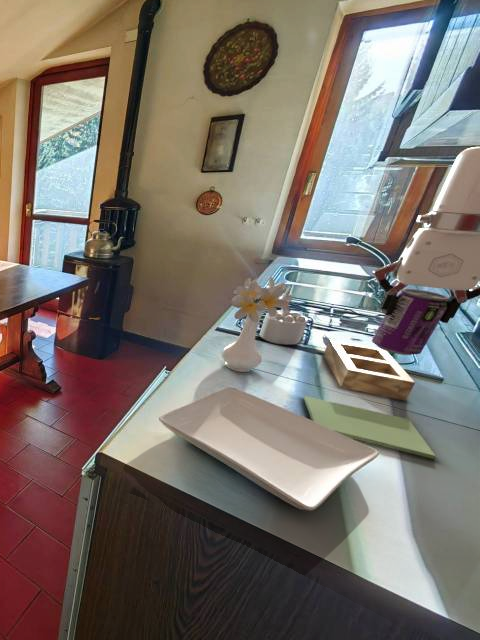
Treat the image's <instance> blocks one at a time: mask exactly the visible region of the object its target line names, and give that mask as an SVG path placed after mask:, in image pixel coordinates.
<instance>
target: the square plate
mask: <svg viewBox="0 0 480 640" xmlns="http://www.w3.org/2000/svg"><path fill="white" fill-rule="evenodd" d="M158 421H159V422H160V423H161V424H162V425H163V426H164V427H165V428H166V429H167V430H169V431H171V432H172V433H173V434H175V435H176V436H178V437H180V438H182V439H183V440H185V441H186V442H188V443H190V444H192V445H193V446H194V447H197V448H198V449H200V450H202V451H203V452H205V454H208V455H209V456H211V457H213V458H214V459H216V460H217V461H219V462H221V463H223V464H225V465H226V466H227V467H229V468H230V469H233V470H234V471H235V472H237V473H238V474H241V476H244V477H245V478H246V479H248V480H250V481H251V482H252V483H254V484H256V485H257V486H259V487H260V488H261V489H264V490H265V491H266V492H269V493H270V494H272V495H274V496H276V497H278V498H279V499H280V500H282V501H284V502H286V503H287V504H289V505H291V506H293V507H294V508H297V509H299V510H303V511H309V512H312V511H314V510H315V509H317V508H318V507H319V506H321V505H322V504H323V503H324V502H325V501H326V500H327V499H328V498H329V497H330V496H331V495H332V494H333V493H334V492H335V491H336V490H337V489H338V487H340V486H341V485H342V484H343V483H344V482H346V480H347V479H349V478H350V477H351V476H352V475H354V474H356V472H358V471H359V470H361V469H362V468H363V467H365V466H367V465H368V464H369V463H371V462H373V461H374V460H375V459H377V457H378V456H379V454H380V452H379V451H378V450H376V449H375V448H372V447H370V446H368V445H367V444H364V443H361V442H359V441H358V440H356V439H353V438H349V437H347V436H344V435H342V434H340V433H338V432H336V431H334V430H331V429H329V428H327V427H325V426H323V425H320V424H318V423H316V422H314V421H312V420H311V419H309V418H307V417H305V416H303V415H301V414H298V413H295V412H294V411H291V410H289V409H287V408H284V407H282V406H280V405H277V404H275V403H273V402H271V401H268V400H266V399H263V398H261V397H259V396H256V395H253V394H252V393H249V392H246V391H244V390H242V389H240V388H237V387H235V386H231V385H228V386H226V387H223V388H220V389H218V390H216V391H213V392H211V393H209V394H207V395H205V396H203V397H200V398H199V399H196V400H193V401H191V402H189V403H186V404H184V405H182V406H180V407H177V408H175V409H173V410H171V411H168V412H167V413H165V414H162V415H161V416H159V417H158Z"/></svg>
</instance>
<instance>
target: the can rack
mask: <svg viewBox="0 0 480 640" xmlns="http://www.w3.org/2000/svg"><path fill="white" fill-rule="evenodd" d="M323 358H324V360H325V361H326V363H327V364H328V366H329V368H330V371H331V372H332V373H333V375H334V378H335V380H336V381H337V383H338V385H339V387H340V388H343V389H349V390H353V391H358V392H363V393H368V394H373V395H378V396H382V397H386V398H391V399H392V398H393V399H397V400H402V401H407V399H408V398H409V395H410V394H411V392H412V389H413V388H414V386H415V384H416V382H415V381H414V379H413V378H412V377H411V376H410V375H409V374H408V373H407V372H406V371H405V369H404V368H403V367H402V366H401V365H400V364H399V363H398V362H397V361H396V359H395V358H393V356H392V355H391V353H390V352H388V351H385V350H383V349H381V348H379V347H375V346H369V345H364V344H357V343H351V342H346V341H340V340H333V339H329V340H328V342H327V344H326V347H325V349H324V352H323Z"/></svg>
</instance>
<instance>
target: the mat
mask: <svg viewBox="0 0 480 640" xmlns="http://www.w3.org/2000/svg"><path fill="white" fill-rule="evenodd" d="M303 400H304V402H305V406H306V409H307V412H308V415H309V418H310V420H312V421H314V422H316V423H318V424H320V425H323V426H325V427H327V428H329V429H331V430H334V431H336V432H338V433H340V434H342V435H344V436H347V437H349V438H351V439H353V440H356V441H361V442H366V443H369V444H372V445H377V446H381V447H385V448H387V449H393V450H396V451H401V452H403V453H409V454H411V455H412V454H413V455H415V456H416V455H417V456H420V457H424V458H428V459H433V460H435V459H436V457H437V455H436V454H435V453H434V451H433V450H432V448H431V447H430V446H429V444H428V443H427V442H426V440H425V439H424V437H422V435H421V434H420V433H419V431H418V430H417V429H416V428H415V426H414V424H413V423H412V422H411V420H410V419H409V418H405V417H401V416H397V415H391V414H388V413H382V412H379V411H374V410H370V409H365V408H360V407H357V406H351V405H347V404H342V403H339V402H334V401H329V400H326V399H320V398H315V397H312V396H306V395H305V396H304V397H303Z"/></svg>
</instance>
